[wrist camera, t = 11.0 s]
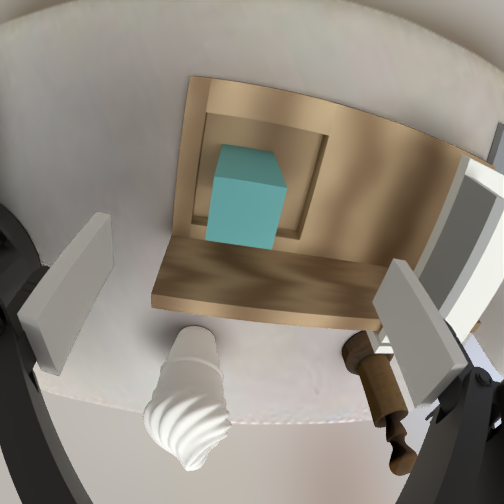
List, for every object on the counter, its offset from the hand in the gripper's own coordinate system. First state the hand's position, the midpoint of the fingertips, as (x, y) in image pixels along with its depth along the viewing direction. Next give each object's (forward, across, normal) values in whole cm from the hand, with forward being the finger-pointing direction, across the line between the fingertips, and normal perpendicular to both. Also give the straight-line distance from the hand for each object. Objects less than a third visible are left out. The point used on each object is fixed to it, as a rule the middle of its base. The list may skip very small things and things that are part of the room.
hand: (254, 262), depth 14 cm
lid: (+11, +15, -1) cm, 18 cm away
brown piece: (+13, +8, 0) cm, 16 cm away
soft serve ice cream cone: (+13, -3, -20) cm, 24 cm away
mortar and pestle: (+14, +18, -19) cm, 30 cm away
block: (+13, -1, 0) cm, 13 cm away
